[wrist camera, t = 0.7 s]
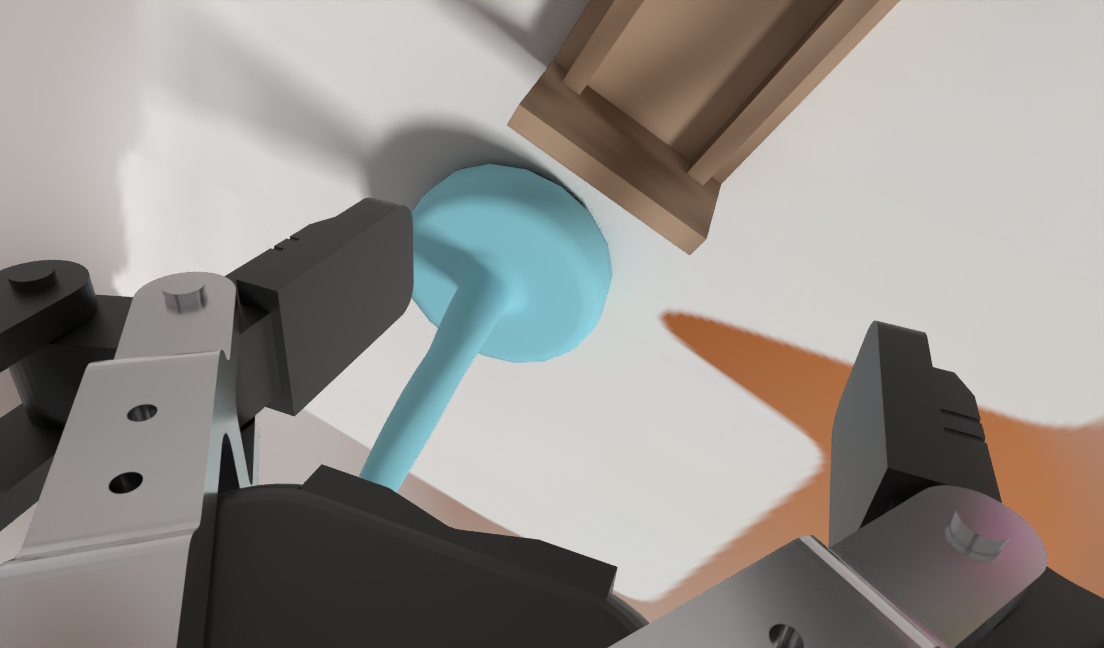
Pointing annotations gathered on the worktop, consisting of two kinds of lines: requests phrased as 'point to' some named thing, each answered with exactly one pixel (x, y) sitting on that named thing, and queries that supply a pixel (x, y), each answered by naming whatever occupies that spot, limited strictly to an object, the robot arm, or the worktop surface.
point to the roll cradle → (682, 95)
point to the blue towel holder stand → (491, 291)
